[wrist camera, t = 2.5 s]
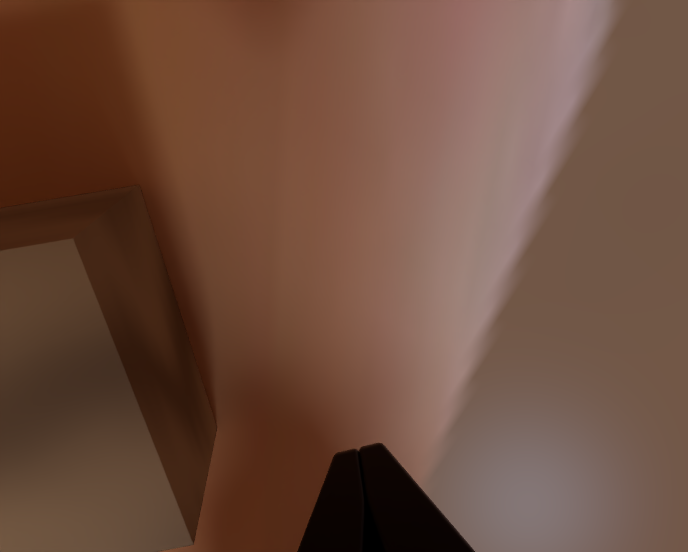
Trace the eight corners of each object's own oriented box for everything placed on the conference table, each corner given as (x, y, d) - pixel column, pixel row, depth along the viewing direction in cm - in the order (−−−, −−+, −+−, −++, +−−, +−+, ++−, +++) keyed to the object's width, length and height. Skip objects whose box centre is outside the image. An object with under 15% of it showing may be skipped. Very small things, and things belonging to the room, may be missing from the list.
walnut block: (217, 423, 18) (193, 544, 14) (-30, 468, 18) (-140, 608, 13) (141, 182, 15) (72, 238, 10) (-171, 235, 14) (-390, 317, 10)
